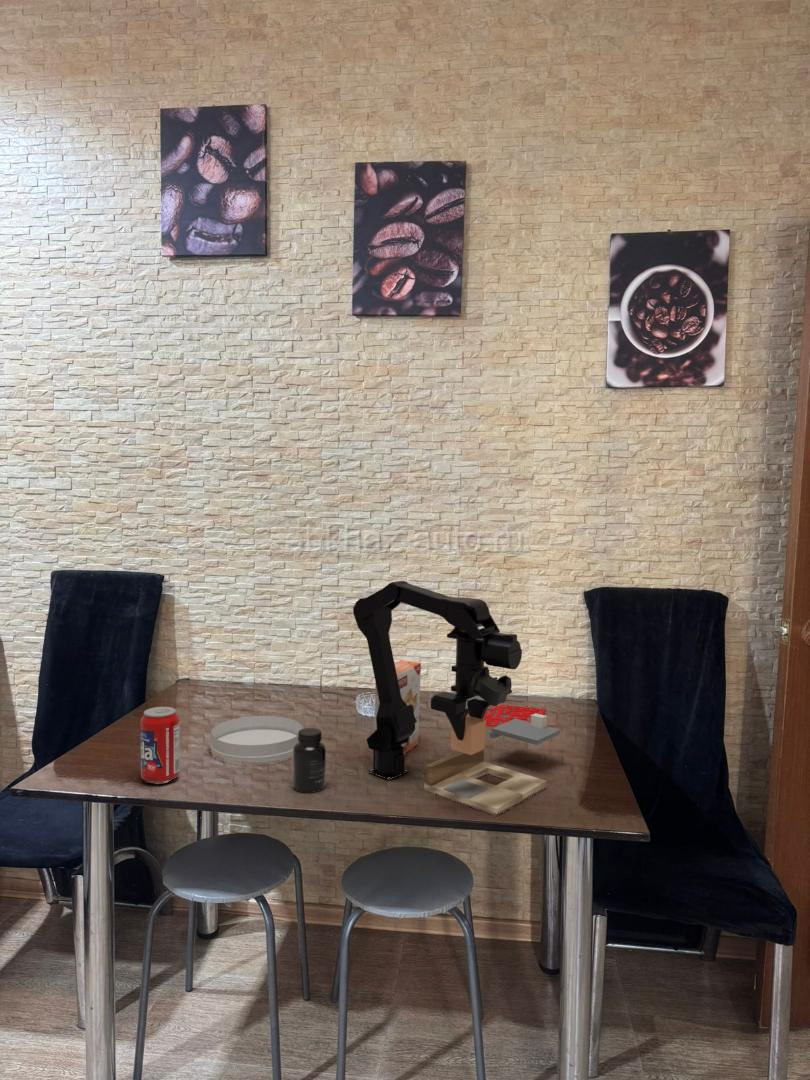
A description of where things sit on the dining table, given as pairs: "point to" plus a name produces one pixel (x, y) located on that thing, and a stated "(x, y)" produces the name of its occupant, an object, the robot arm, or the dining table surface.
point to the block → (470, 736)
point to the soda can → (160, 744)
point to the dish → (255, 738)
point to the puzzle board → (478, 782)
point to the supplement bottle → (309, 761)
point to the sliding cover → (526, 730)
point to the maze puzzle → (525, 713)
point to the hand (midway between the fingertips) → (468, 736)
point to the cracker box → (407, 694)
